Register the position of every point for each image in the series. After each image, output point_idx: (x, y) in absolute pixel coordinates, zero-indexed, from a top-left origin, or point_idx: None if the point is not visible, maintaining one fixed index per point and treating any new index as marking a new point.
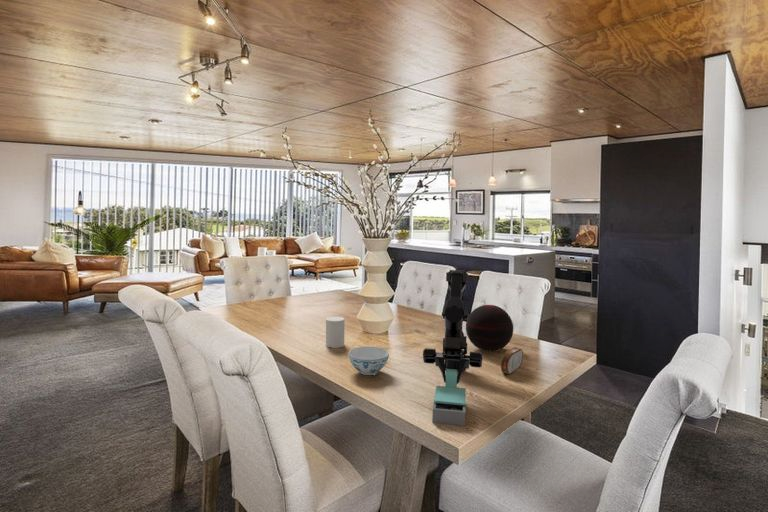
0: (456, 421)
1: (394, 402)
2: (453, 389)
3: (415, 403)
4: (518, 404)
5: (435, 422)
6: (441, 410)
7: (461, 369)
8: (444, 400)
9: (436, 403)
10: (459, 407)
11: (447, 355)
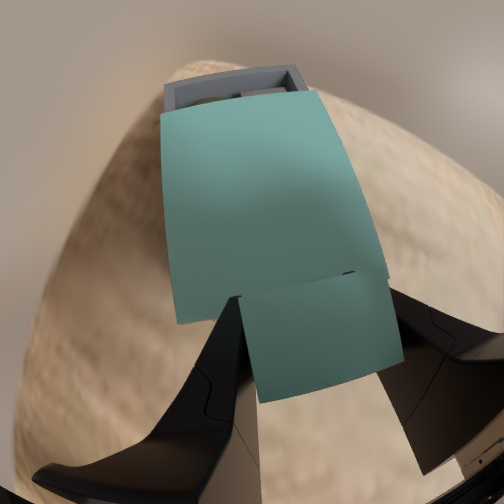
0: None
1: (468, 212)
2: (259, 259)
3: (416, 233)
4: (22, 388)
5: None
6: (260, 68)
7: (193, 393)
8: (268, 100)
9: None
10: None
11: (491, 500)
